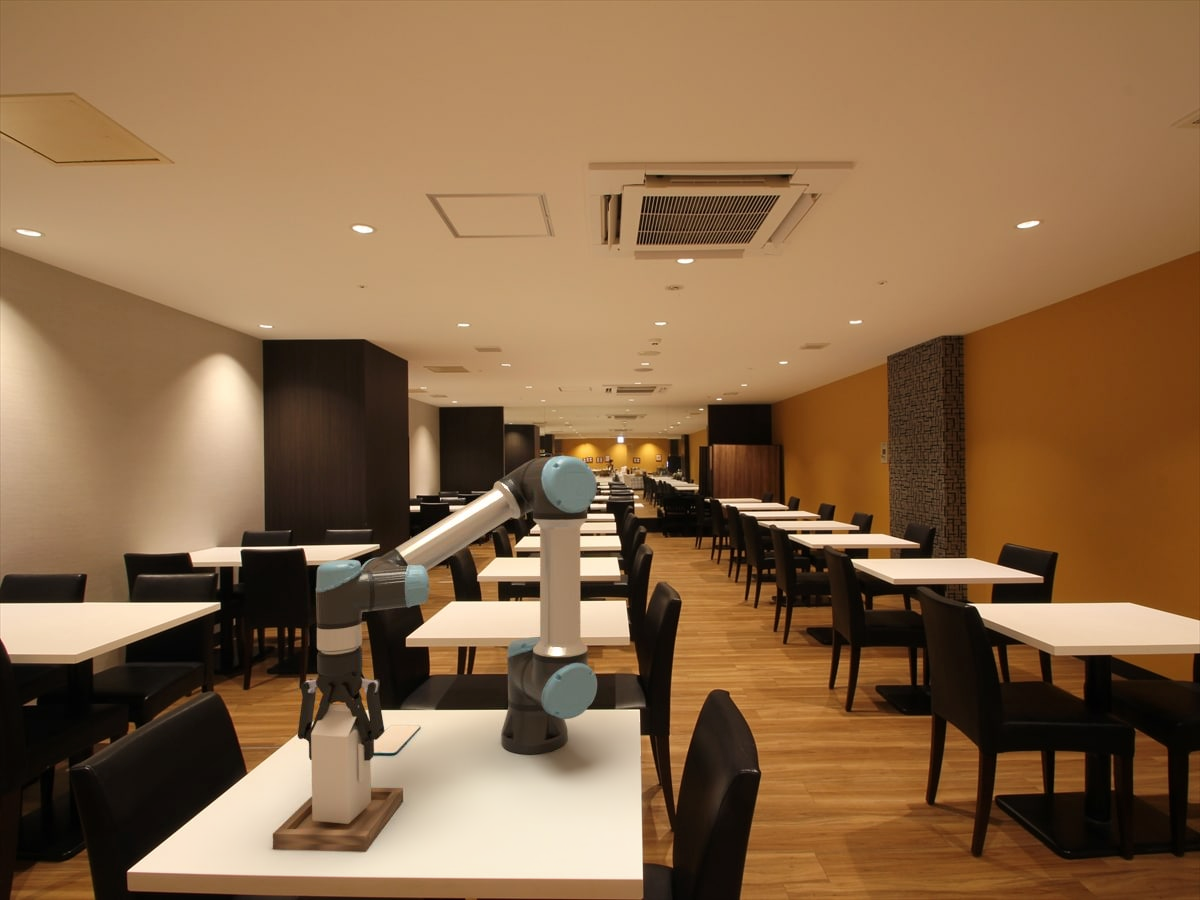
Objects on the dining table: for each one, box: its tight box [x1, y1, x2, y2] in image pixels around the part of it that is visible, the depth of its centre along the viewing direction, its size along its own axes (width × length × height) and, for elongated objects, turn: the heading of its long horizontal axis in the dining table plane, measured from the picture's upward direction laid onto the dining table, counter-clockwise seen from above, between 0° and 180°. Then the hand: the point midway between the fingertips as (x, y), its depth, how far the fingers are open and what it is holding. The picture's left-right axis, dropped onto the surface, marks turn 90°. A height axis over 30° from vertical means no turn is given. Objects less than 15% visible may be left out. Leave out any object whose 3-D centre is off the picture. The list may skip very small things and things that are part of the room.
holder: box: [272, 787, 404, 852], centre depth 116 cm, size 16×16×2 cm
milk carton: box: [310, 703, 372, 824], centre depth 116 cm, size 7×7×19 cm
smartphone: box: [373, 724, 421, 757], centre depth 151 cm, size 8×1×16 cm
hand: (341, 777), depth 116 cm, fingers closed on milk carton, 7 cm apart
